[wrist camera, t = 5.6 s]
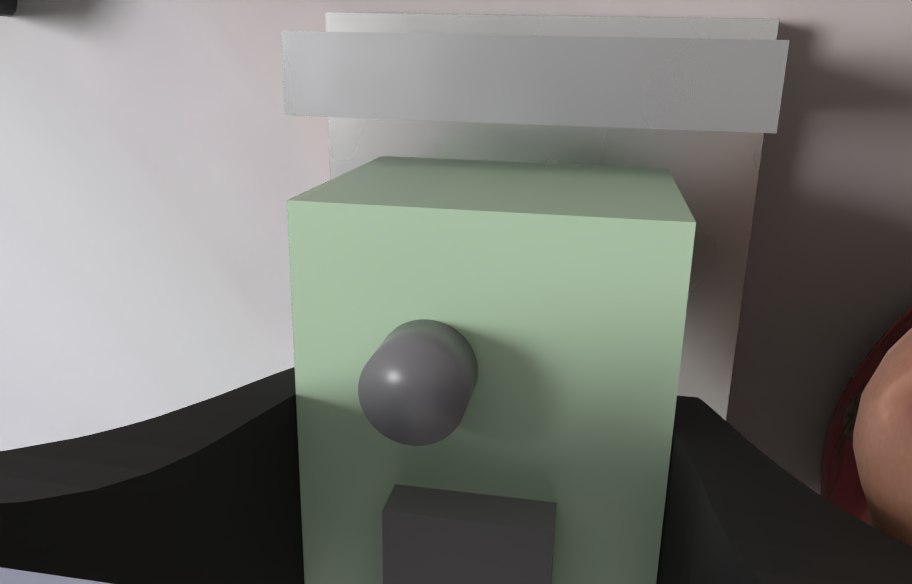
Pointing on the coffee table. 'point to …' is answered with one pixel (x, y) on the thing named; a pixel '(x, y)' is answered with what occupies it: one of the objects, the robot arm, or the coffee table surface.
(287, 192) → the coffee table surface
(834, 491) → the decorative planter
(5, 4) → the disk drive
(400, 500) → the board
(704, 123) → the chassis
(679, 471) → the robot arm
